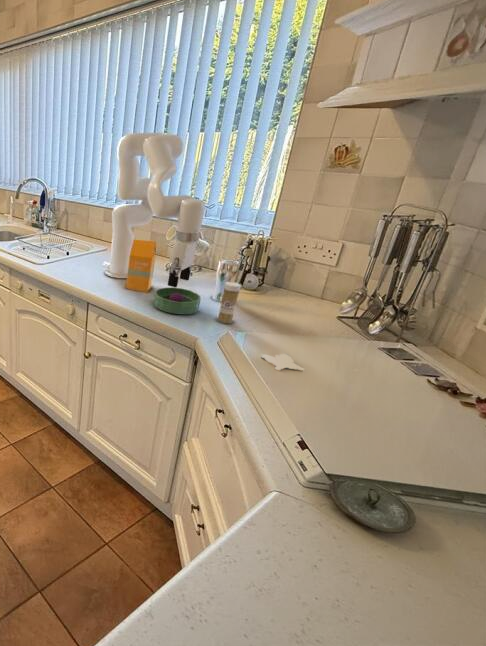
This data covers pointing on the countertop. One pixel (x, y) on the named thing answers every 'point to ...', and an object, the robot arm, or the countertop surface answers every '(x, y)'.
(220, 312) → the sprinkles bottle
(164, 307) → the bowl
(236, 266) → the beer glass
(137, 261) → the orange juice
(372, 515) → the lid
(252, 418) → the countertop surface
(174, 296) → the ball
